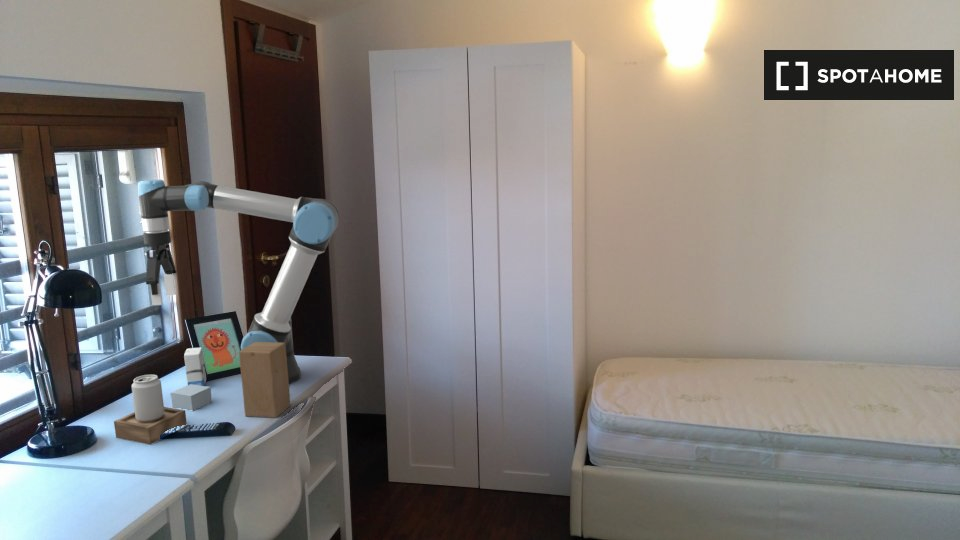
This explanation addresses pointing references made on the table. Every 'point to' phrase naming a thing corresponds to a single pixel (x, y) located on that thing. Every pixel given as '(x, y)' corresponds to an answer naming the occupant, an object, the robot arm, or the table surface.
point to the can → (148, 398)
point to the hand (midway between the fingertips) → (164, 299)
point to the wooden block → (264, 379)
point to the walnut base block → (148, 426)
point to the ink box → (195, 366)
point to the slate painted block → (191, 397)
